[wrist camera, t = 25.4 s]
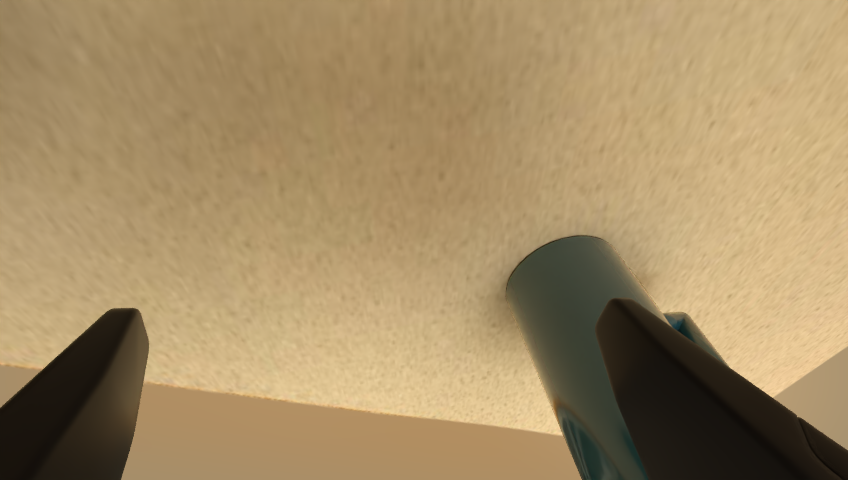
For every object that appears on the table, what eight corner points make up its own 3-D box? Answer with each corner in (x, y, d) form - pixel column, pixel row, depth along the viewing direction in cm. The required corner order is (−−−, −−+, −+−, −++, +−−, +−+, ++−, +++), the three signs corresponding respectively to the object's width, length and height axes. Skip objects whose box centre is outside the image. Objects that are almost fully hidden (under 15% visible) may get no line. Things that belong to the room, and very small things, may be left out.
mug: (494, 323, 29) (582, 556, 20) (522, 236, 25) (650, 478, 16) (632, 315, 32) (771, 522, 22) (680, 233, 27) (877, 446, 18)
